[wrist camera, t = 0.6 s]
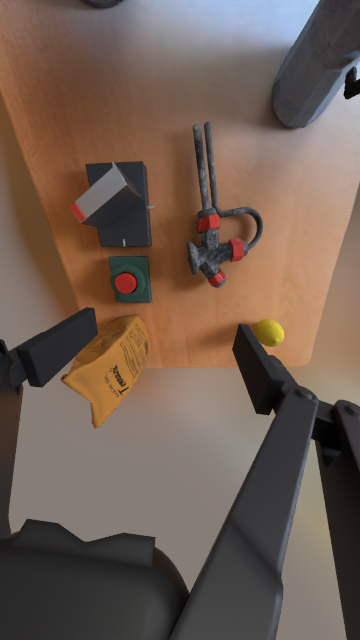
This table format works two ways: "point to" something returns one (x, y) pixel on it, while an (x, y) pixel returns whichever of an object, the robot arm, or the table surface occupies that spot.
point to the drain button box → (141, 273)
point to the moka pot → (319, 63)
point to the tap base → (137, 220)
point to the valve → (214, 221)
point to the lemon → (269, 332)
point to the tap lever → (106, 200)
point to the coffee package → (110, 366)
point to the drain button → (125, 283)
